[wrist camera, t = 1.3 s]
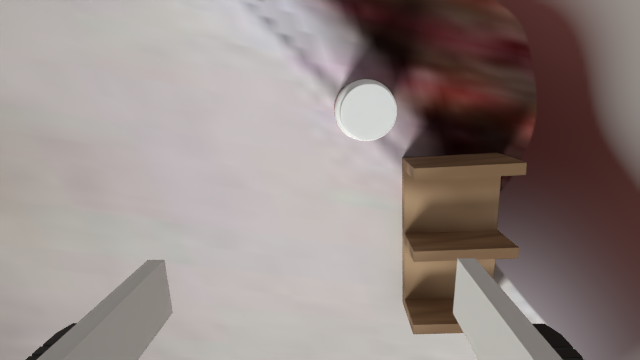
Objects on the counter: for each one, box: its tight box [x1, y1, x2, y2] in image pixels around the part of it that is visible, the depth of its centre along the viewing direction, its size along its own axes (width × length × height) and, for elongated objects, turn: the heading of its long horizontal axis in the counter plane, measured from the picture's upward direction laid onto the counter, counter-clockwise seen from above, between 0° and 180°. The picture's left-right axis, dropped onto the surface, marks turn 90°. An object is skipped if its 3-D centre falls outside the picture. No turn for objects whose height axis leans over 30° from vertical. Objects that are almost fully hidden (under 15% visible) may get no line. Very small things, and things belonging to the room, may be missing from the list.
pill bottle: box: [334, 79, 397, 141], centre depth 27 cm, size 5×5×8 cm
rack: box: [402, 153, 527, 334], centre depth 32 cm, size 16×9×5 cm, turn 4°
